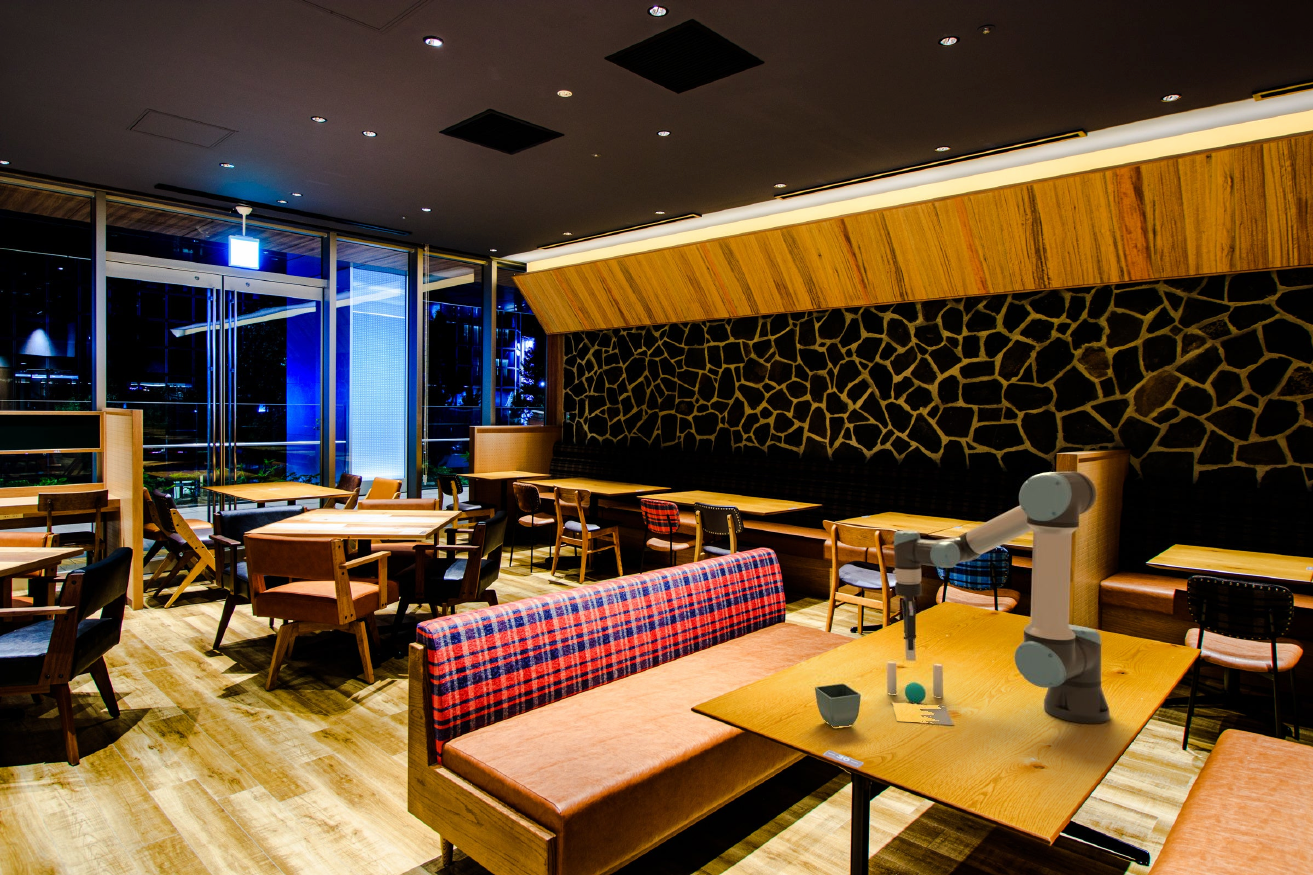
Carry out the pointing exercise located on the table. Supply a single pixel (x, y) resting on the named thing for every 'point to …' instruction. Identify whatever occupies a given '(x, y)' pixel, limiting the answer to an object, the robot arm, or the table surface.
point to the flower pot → (838, 704)
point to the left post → (891, 677)
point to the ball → (915, 692)
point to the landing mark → (939, 716)
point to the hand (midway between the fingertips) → (910, 659)
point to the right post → (938, 680)
